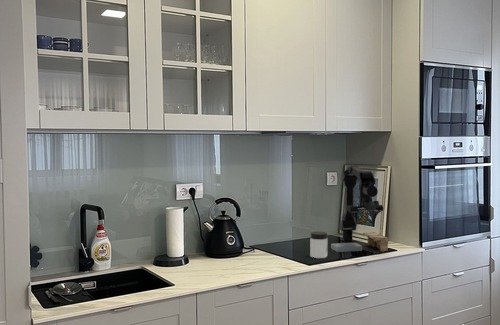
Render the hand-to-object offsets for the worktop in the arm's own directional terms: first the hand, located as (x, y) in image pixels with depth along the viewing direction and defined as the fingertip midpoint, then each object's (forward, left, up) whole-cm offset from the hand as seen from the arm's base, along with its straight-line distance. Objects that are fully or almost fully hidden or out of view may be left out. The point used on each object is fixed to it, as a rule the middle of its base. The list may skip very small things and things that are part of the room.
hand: (364, 224), depth 264 cm
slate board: (-6, -8, -15) cm, 18 cm away
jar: (+6, -28, -15) cm, 32 cm away
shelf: (-6, +8, -14) cm, 17 cm away
